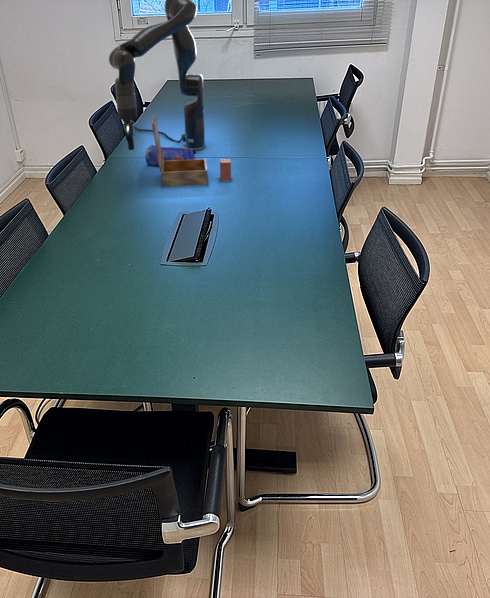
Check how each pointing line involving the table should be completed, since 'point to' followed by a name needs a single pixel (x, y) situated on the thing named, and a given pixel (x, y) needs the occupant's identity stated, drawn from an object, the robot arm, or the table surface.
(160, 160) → the lid
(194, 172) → the chest
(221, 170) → the block
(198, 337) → the table surface
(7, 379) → the table surface
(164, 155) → the pencil case
